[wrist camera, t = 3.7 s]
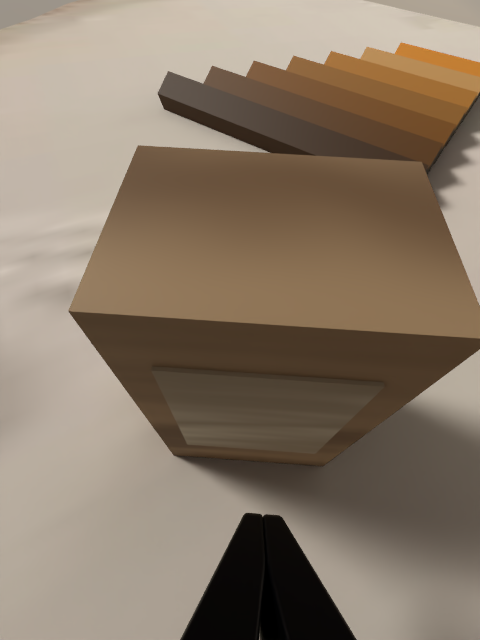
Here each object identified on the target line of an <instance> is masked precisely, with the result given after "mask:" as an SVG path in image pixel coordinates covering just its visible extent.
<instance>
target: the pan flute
mask: <svg viewBox="0 0 480 640" xmlns="http://www.w3.org/2000/svg"><path fill="white" fill-rule="evenodd" d="M158 95H159V98H160V100H161V103H162V105H163V108H164V109H165V110H168V111H170V112H173V113H175V114H178V115H180V116H182V117H185V118H187V119H190V120H192V121H195V122H197V123H200V124H202V125H205V126H207V127H209V128H212V129H214V130H217V131H219V132H222V133H224V134H227V135H229V136H232V137H234V138H236V139H239V140H241V141H244V142H246V143H249V144H251V145H254V146H256V147H259V148H261V149H263V150H266V151H268V152H271V153H277V154H294V155H312V156H329V157H346V158H364V159H381V160H399V161H416V162H422V164H423V166H424V169H425V171H426V174H428V172H429V171H430V169H431V167H432V166H433V164H434V163H435V162H436V160H437V159H438V157H439V156H440V154H441V153H442V151H443V150H444V148H445V146H446V145H447V144H448V142H449V141H450V139H451V138H452V136H453V135H454V133H455V131H456V130H457V129H458V127H459V126H460V124H461V123H462V121H463V120H464V118H465V116H466V115H467V114H468V112H469V111H470V109H471V108H472V106H473V104H474V103H475V102H476V100H477V99H478V97H479V96H480V63H479V62H475V61H471V60H467V59H464V58H460V57H456V56H452V55H448V54H444V53H440V52H436V51H432V50H428V49H424V48H420V47H417V46H413V45H409V44H405V43H400V45H399V47H398V49H397V51H396V52H395V54H392V53H389V52H385V51H381V50H377V49H374V48H370V47H366V49H365V51H364V53H363V55H362V57H361V59H357V58H354V57H350V56H347V55H343V54H340V53H336V52H332V51H331V52H330V54H329V56H328V58H327V60H326V62H325V64H324V65H323V64H320V63H316V62H313V61H309V60H306V59H303V58H299V57H296V56H293V58H292V60H291V62H290V64H289V66H288V68H287V69H286V71H285V70H282V69H279V68H276V67H272V66H269V65H266V64H263V63H260V62H257V61H254V62H253V64H252V66H251V68H250V70H249V72H248V74H247V76H246V77H244V76H241V75H238V74H235V73H232V72H229V71H226V70H223V69H220V68H217V67H214V66H212V67H211V69H210V71H209V74H208V76H207V78H206V80H205V82H204V84H202V83H199V82H197V81H194V80H191V79H188V78H185V77H183V76H180V75H177V74H174V73H172V72H169V71H168V73H167V75H166V77H165V79H164V81H163V83H162V85H161V88H160V90H159V92H158Z"/></svg>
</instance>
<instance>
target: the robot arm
mask: <svg viewBox="0 0 480 640" xmlns="http://www.w3.org/2000/svg"><path fill="white" fill-rule="evenodd" d="M259 633H260V640H356V638H355V636H354V635H353V633H352V631H351V630H350V628H349V626H348V625H347V623H346V621H345V620H344V618H343V617H342V615H341V613H340V612H339V610H338V608H337V607H336V605H335V603H334V602H333V600H332V598H331V597H330V595H329V594H328V592H327V590H326V589H325V587H324V585H323V584H322V582H321V580H320V579H319V577H318V575H317V574H316V572H315V571H314V569H313V567H312V566H311V564H310V562H309V561H308V559H307V557H306V556H305V554H304V553H303V551H302V549H301V548H300V546H299V544H298V543H297V541H296V539H295V538H294V536H293V534H292V533H291V531H290V530H289V528H288V526H287V525H286V523H285V521H284V520H283V518H282V517H281V516H279V515H267V514H266V515H264V516H263V517H262V515H261V514H255V513H245V514H244V515H243V517H242V519H241V521H240V523H239V525H238V527H237V529H236V531H235V533H234V535H233V537H232V539H231V541H230V543H229V545H228V547H227V549H226V551H225V553H224V555H223V557H222V559H221V561H220V563H219V565H218V567H217V568H216V570H215V572H214V574H213V576H212V578H211V580H210V582H209V584H208V586H207V588H206V590H205V592H204V594H203V596H202V598H201V600H200V602H199V604H198V606H197V608H196V610H195V612H194V614H193V616H192V618H191V620H190V622H189V624H188V626H187V628H186V629H185V631H184V633H183V635H182V637H181V639H180V640H259Z"/></svg>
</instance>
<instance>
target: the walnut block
mask: <svg viewBox="0 0 480 640" xmlns="http://www.w3.org/2000/svg"><path fill="white" fill-rule="evenodd" d="M69 313H70V314H71V315H72V317H73V318H74V320H75V321H76V322H77V324H78V325H79V326H80V328H81V329H82V330H83V332H84V333H85V335H86V336H87V337H88V339H89V340H90V341H91V343H92V344H93V346H94V347H95V348H96V350H97V351H98V352H99V354H100V355H101V356H102V358H103V359H104V361H105V362H106V363H107V365H108V366H109V367H110V369H111V370H112V372H113V373H114V374H115V376H116V377H117V378H118V380H119V381H120V382H121V384H122V385H123V387H124V388H125V389H126V391H127V392H128V393H129V395H130V396H131V397H132V399H133V400H134V402H135V403H136V404H137V406H138V407H139V408H140V410H141V411H142V413H143V414H144V415H145V417H146V418H147V419H148V421H149V422H150V423H151V425H152V426H153V428H154V429H155V430H156V432H157V433H158V434H159V436H160V437H161V439H162V440H163V441H164V443H165V444H166V445H167V447H168V448H169V449H170V451H171V452H172V454H173V455H177V456H191V457H204V458H218V459H231V460H245V461H259V462H272V463H286V464H299V465H313V466H324V465H325V464H327V463H328V462H329V461H331V460H332V459H333V458H335V457H336V456H337V455H339V454H340V453H341V452H343V451H344V450H345V449H347V448H348V447H349V446H351V445H352V444H353V443H355V442H356V441H357V440H359V439H360V438H361V437H363V436H364V435H365V434H367V433H368V432H369V431H371V430H372V429H373V428H375V427H376V426H377V425H379V424H380V423H382V422H383V421H384V420H386V419H387V418H388V417H390V416H391V415H392V414H394V413H395V412H396V411H398V410H399V409H400V408H402V407H403V406H404V405H406V404H407V403H408V402H410V401H411V400H412V399H414V398H415V397H416V396H418V395H419V394H420V393H422V392H423V391H424V390H426V389H427V388H428V387H430V386H431V385H432V384H434V383H435V382H436V381H438V380H439V379H440V378H442V377H443V376H445V375H446V374H447V373H449V372H450V371H451V370H453V369H454V368H455V367H457V366H458V365H459V364H461V363H462V362H463V361H465V360H466V359H467V358H469V357H470V356H471V355H473V354H474V353H475V352H477V351H478V350H479V349H480V306H479V303H478V301H477V298H476V296H475V293H474V291H473V288H472V286H471V283H470V281H469V278H468V276H467V273H466V271H465V268H464V266H463V263H462V261H461V259H460V256H459V254H458V251H457V249H456V246H455V244H454V241H453V239H452V236H451V234H450V231H449V229H448V226H447V224H446V221H445V219H444V216H443V214H442V211H441V209H440V206H439V204H438V201H437V199H436V196H435V194H434V191H433V189H432V186H431V184H430V181H429V179H428V176H427V174H426V171H425V169H424V166H423V164H422V162H416V161H399V160H381V159H364V158H346V157H329V156H312V155H294V154H277V153H259V152H242V151H224V150H207V149H190V148H172V147H155V146H138V147H137V149H136V151H135V154H134V156H133V158H132V161H131V163H130V166H129V168H128V170H127V173H126V175H125V178H124V180H123V182H122V185H121V187H120V189H119V192H118V194H117V197H116V199H115V201H114V204H113V206H112V208H111V211H110V213H109V216H108V218H107V220H106V223H105V225H104V227H103V230H102V232H101V235H100V237H99V239H98V242H97V244H96V247H95V249H94V251H93V254H92V256H91V258H90V261H89V263H88V266H87V268H86V270H85V273H84V275H83V277H82V280H81V282H80V285H79V287H78V289H77V292H76V294H75V297H74V299H73V301H72V304H71V306H70V308H69Z"/></svg>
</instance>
